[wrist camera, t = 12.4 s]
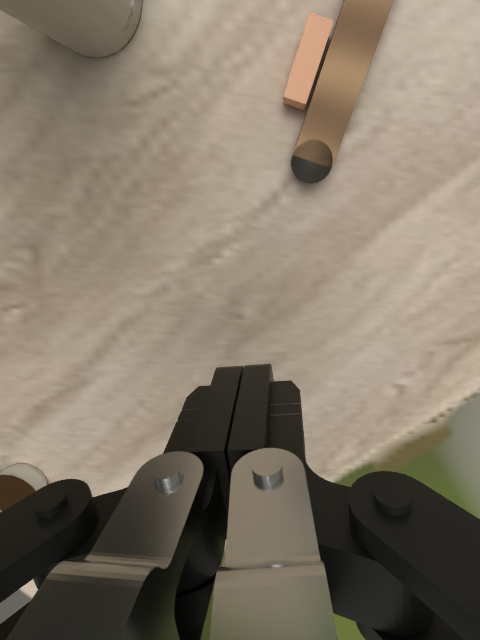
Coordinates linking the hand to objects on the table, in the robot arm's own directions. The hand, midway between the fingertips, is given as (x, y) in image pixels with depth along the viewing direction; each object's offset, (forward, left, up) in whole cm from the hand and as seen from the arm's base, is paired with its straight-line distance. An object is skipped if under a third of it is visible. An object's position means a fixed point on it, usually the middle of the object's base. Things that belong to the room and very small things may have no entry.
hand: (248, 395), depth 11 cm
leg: (+1, +17, -32) cm, 36 cm away
